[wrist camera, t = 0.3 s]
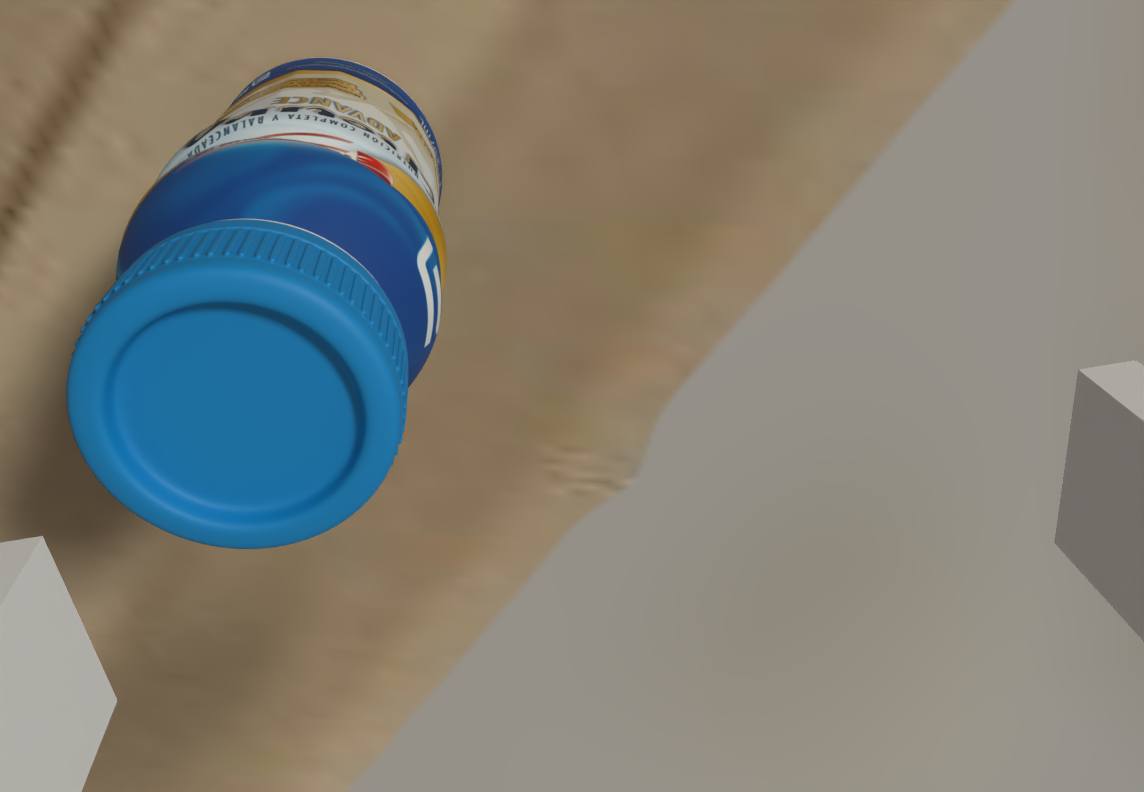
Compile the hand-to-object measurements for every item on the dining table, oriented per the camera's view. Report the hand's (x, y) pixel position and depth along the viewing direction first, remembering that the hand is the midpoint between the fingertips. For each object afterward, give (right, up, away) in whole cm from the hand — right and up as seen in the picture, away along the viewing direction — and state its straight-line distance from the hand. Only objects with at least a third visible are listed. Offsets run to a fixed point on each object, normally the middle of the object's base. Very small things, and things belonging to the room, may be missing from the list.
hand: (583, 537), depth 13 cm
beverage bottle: (-9, +11, +25) cm, 29 cm away
